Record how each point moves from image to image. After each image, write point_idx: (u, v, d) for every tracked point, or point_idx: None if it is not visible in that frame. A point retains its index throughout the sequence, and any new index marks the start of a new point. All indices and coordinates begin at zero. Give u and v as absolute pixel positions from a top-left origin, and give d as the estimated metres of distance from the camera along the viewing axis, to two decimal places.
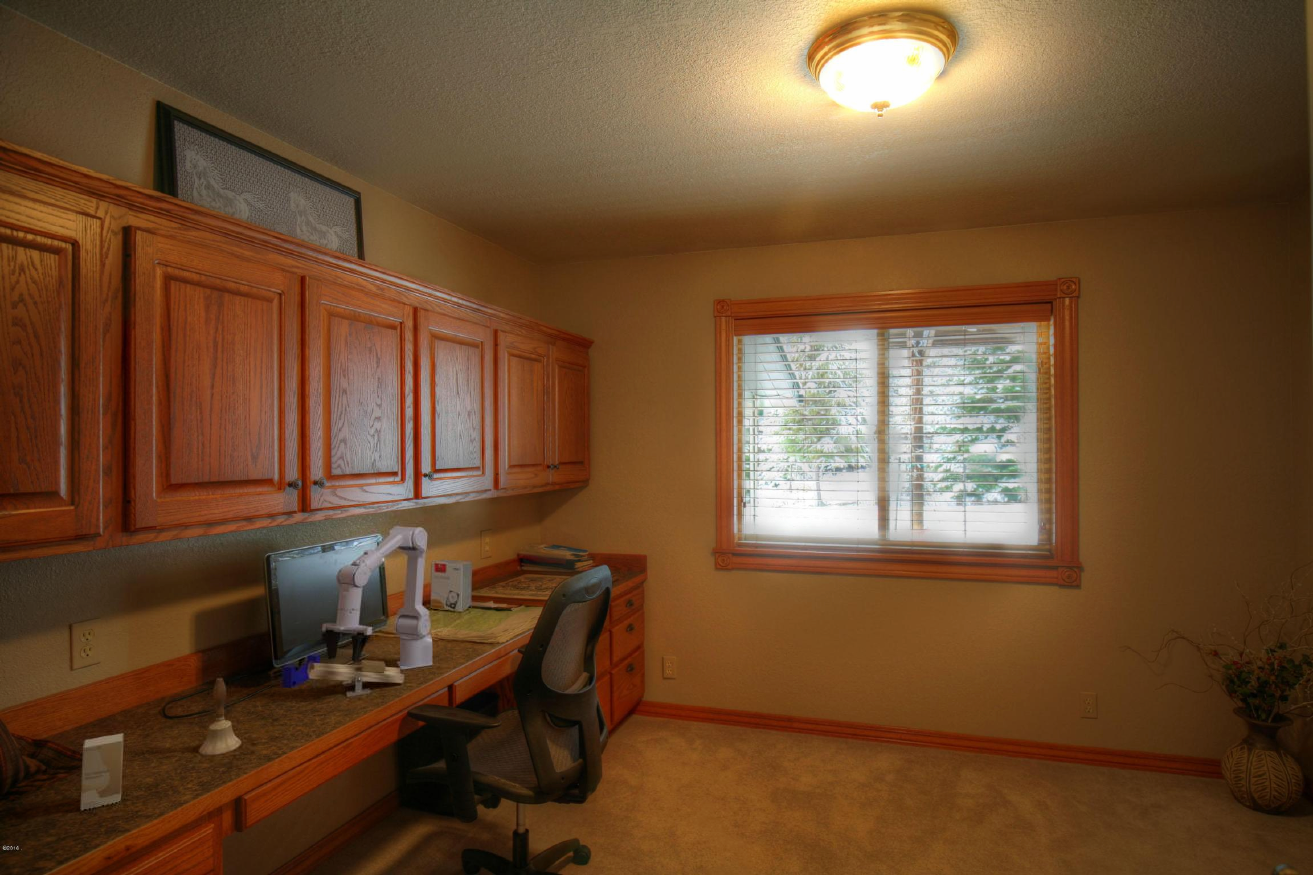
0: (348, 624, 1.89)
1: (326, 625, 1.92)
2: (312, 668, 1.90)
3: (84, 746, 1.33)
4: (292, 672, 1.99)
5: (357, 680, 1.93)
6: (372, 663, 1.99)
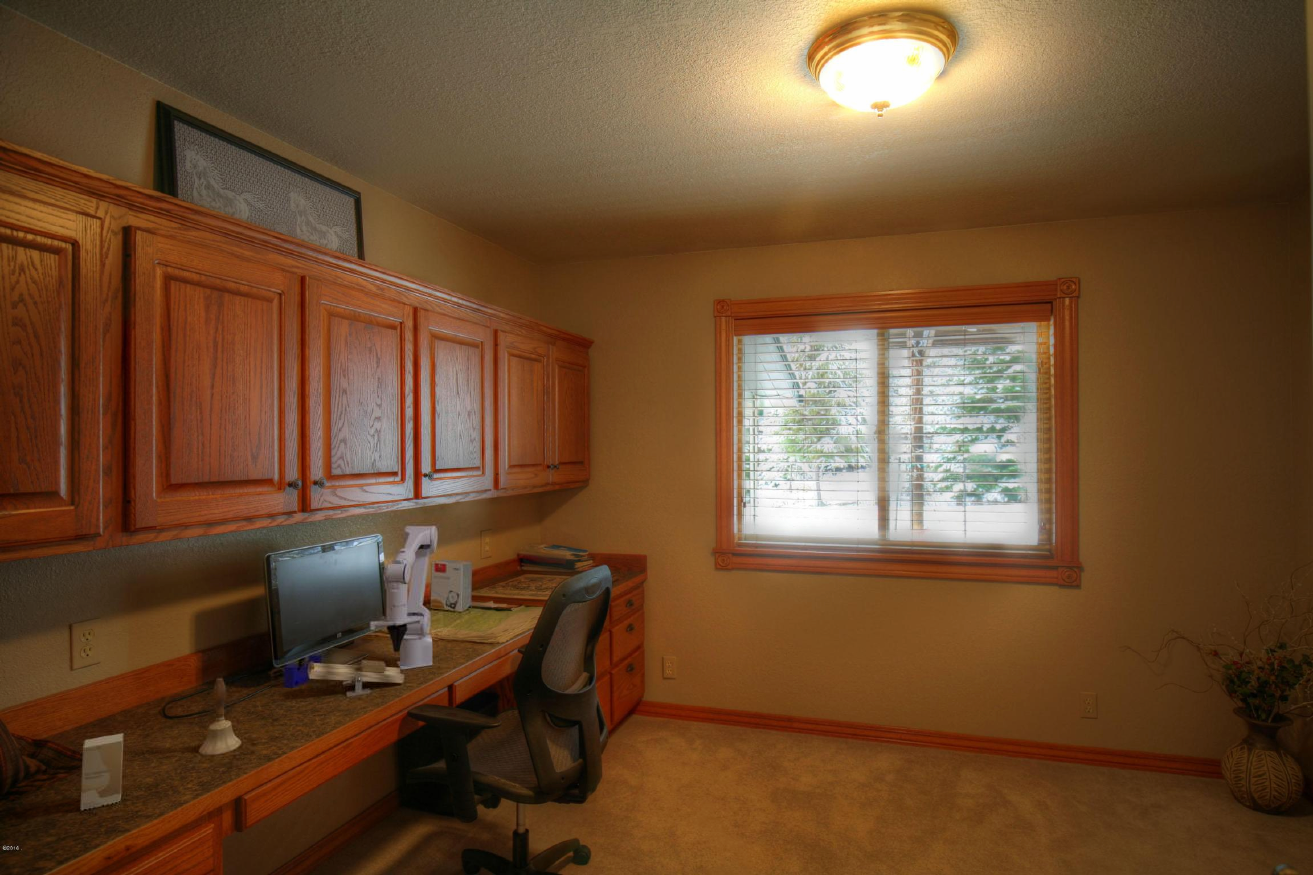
0: (405, 618, 2.02)
1: (376, 624, 1.99)
2: (312, 668, 1.90)
3: (84, 746, 1.33)
4: (294, 672, 1.99)
5: (357, 680, 1.93)
6: (372, 663, 1.99)
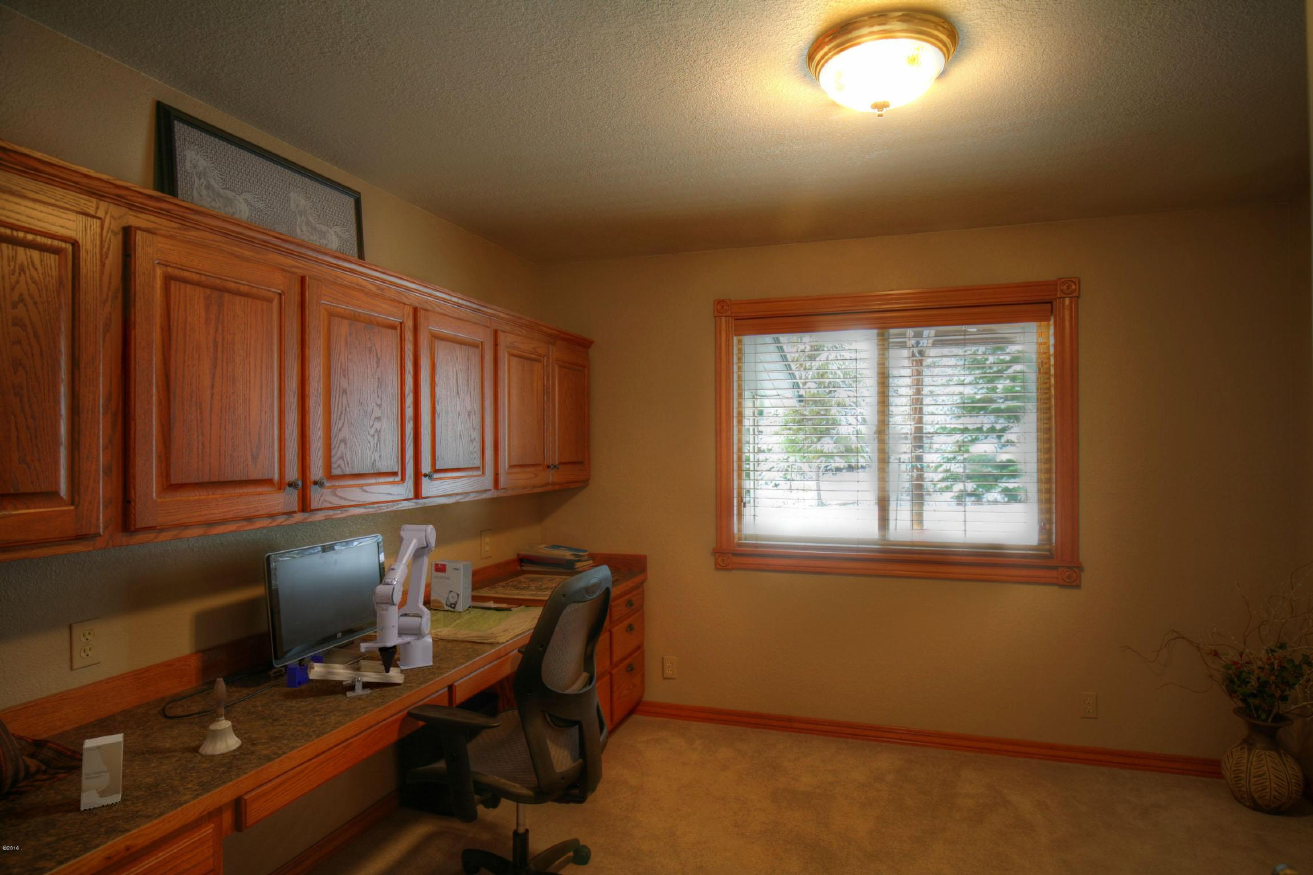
0: (395, 639, 2.01)
1: (366, 645, 1.98)
2: (312, 668, 1.90)
3: (84, 746, 1.33)
4: (297, 672, 1.99)
5: (357, 680, 1.93)
6: (370, 663, 1.99)
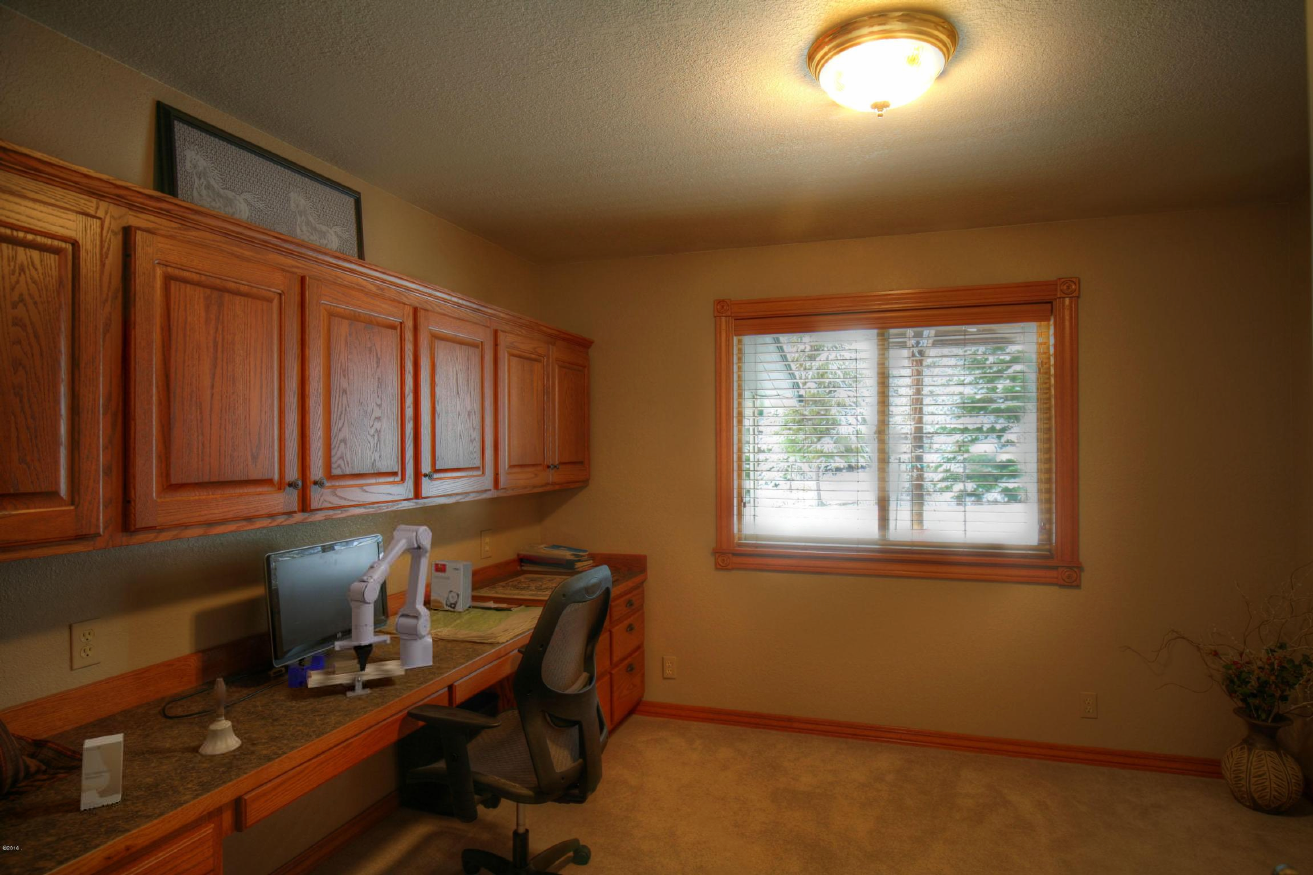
0: (371, 638, 1.98)
1: (341, 644, 1.95)
2: (309, 677, 1.89)
3: (84, 746, 1.33)
4: (299, 672, 1.99)
5: (357, 680, 1.93)
6: (344, 664, 1.96)
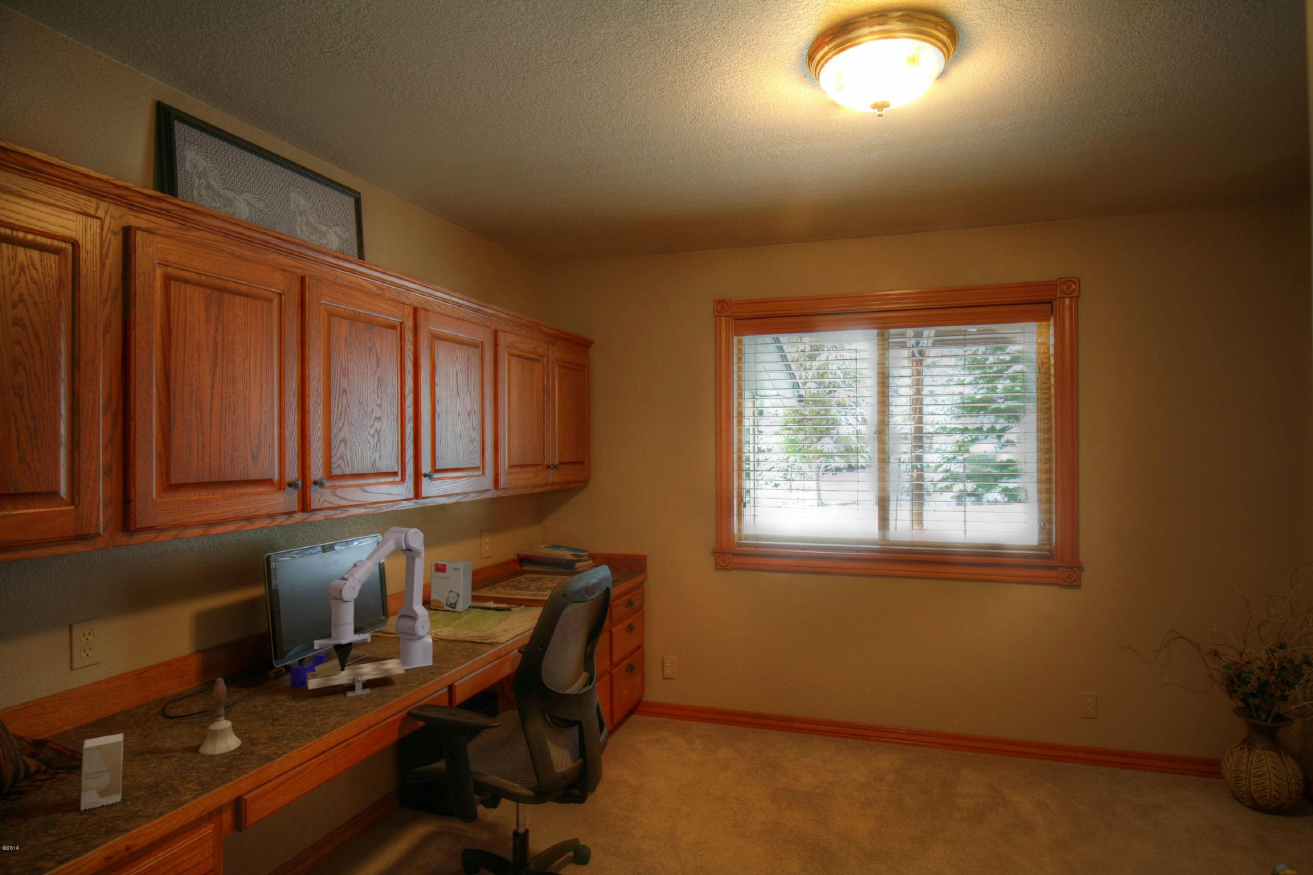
0: (351, 636, 1.95)
1: (320, 643, 1.92)
2: (309, 679, 1.89)
3: (84, 746, 1.33)
4: (301, 672, 1.99)
5: (357, 680, 1.93)
6: (325, 666, 1.93)
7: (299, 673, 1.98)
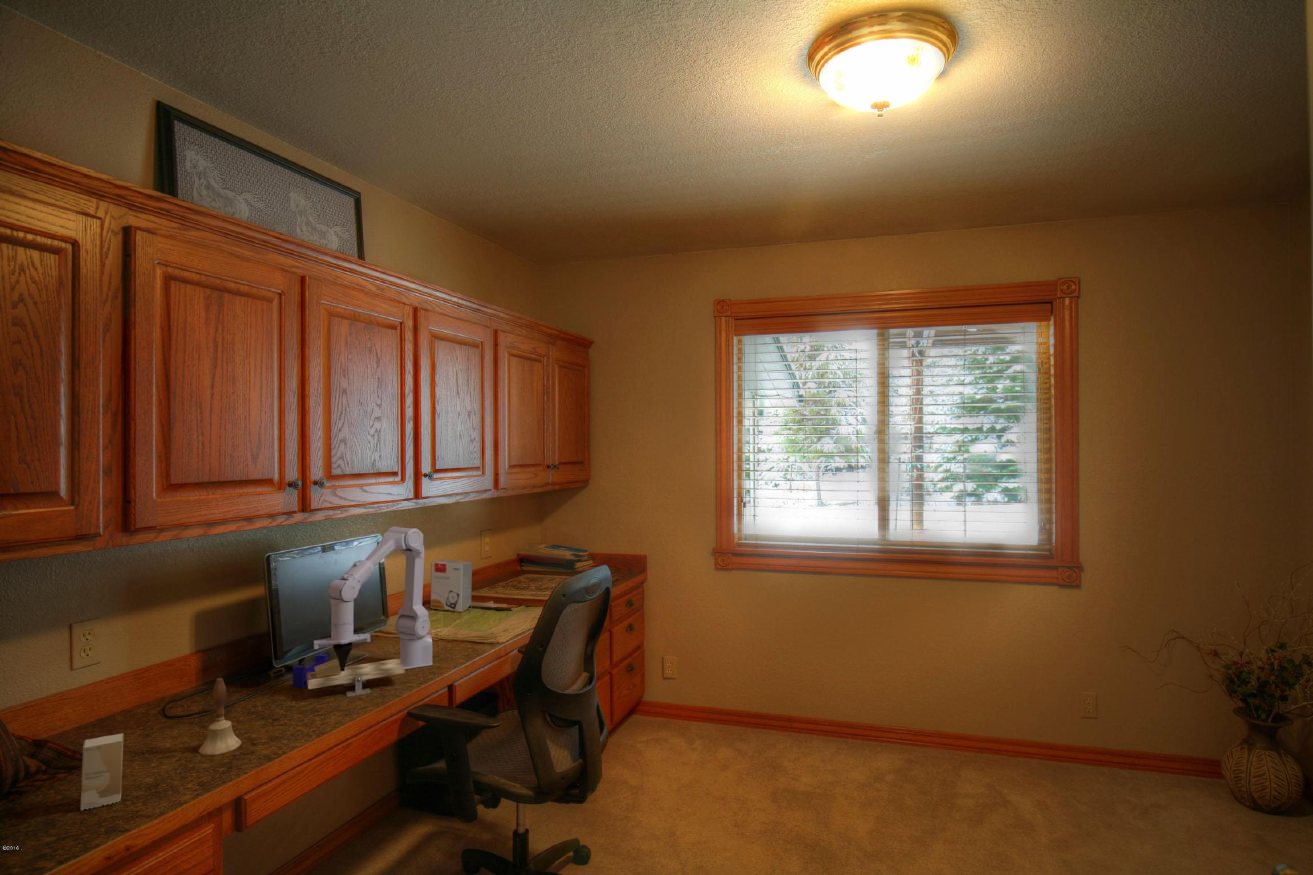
0: (350, 636, 1.95)
1: (320, 643, 1.92)
2: (309, 679, 1.89)
3: (84, 746, 1.33)
4: (303, 672, 1.99)
5: (357, 680, 1.93)
6: (324, 666, 1.93)
7: (301, 673, 1.98)
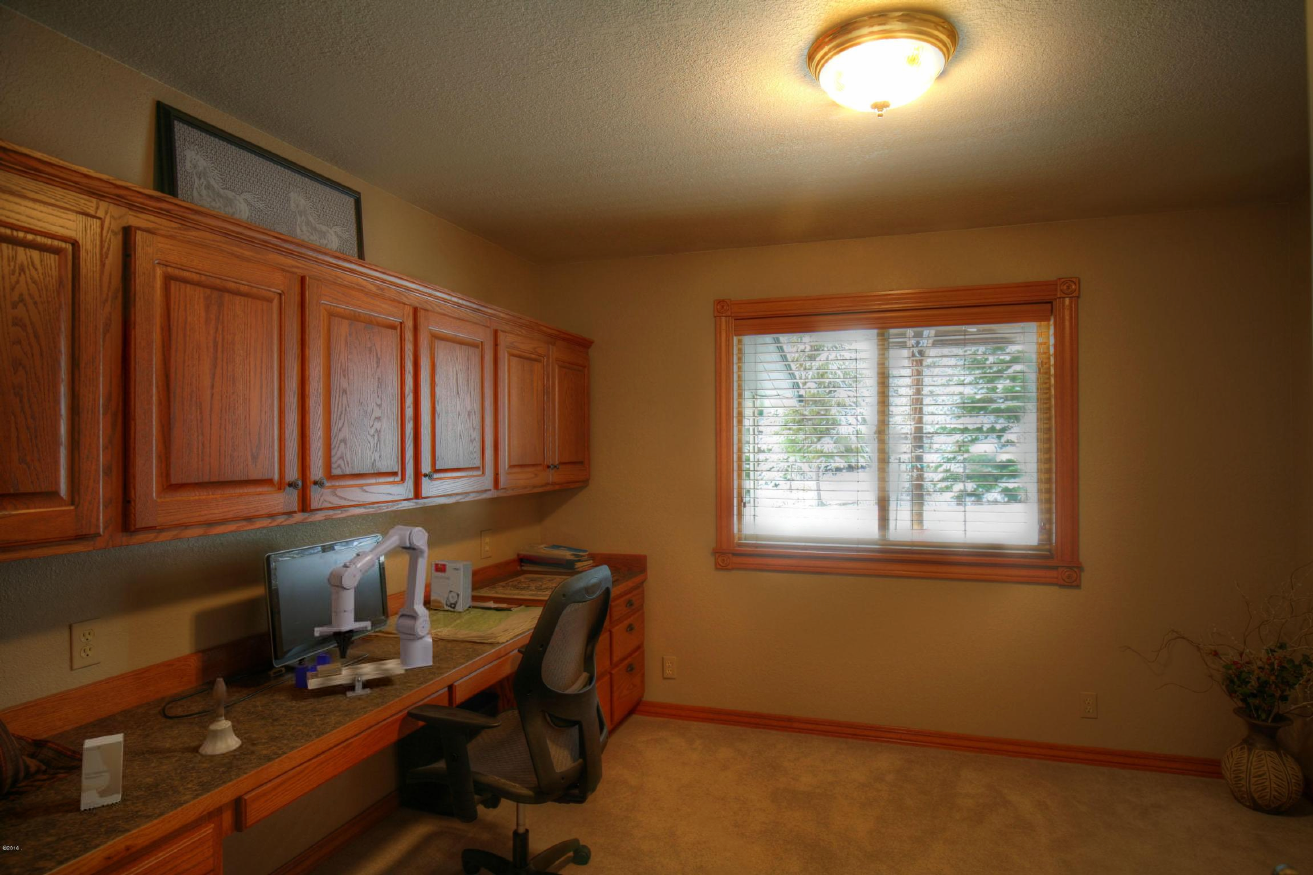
0: (351, 624, 1.96)
1: (320, 630, 1.92)
2: (309, 678, 1.89)
3: (84, 746, 1.33)
4: (306, 672, 1.99)
5: (357, 680, 1.93)
6: (327, 667, 1.93)
7: (304, 673, 1.99)
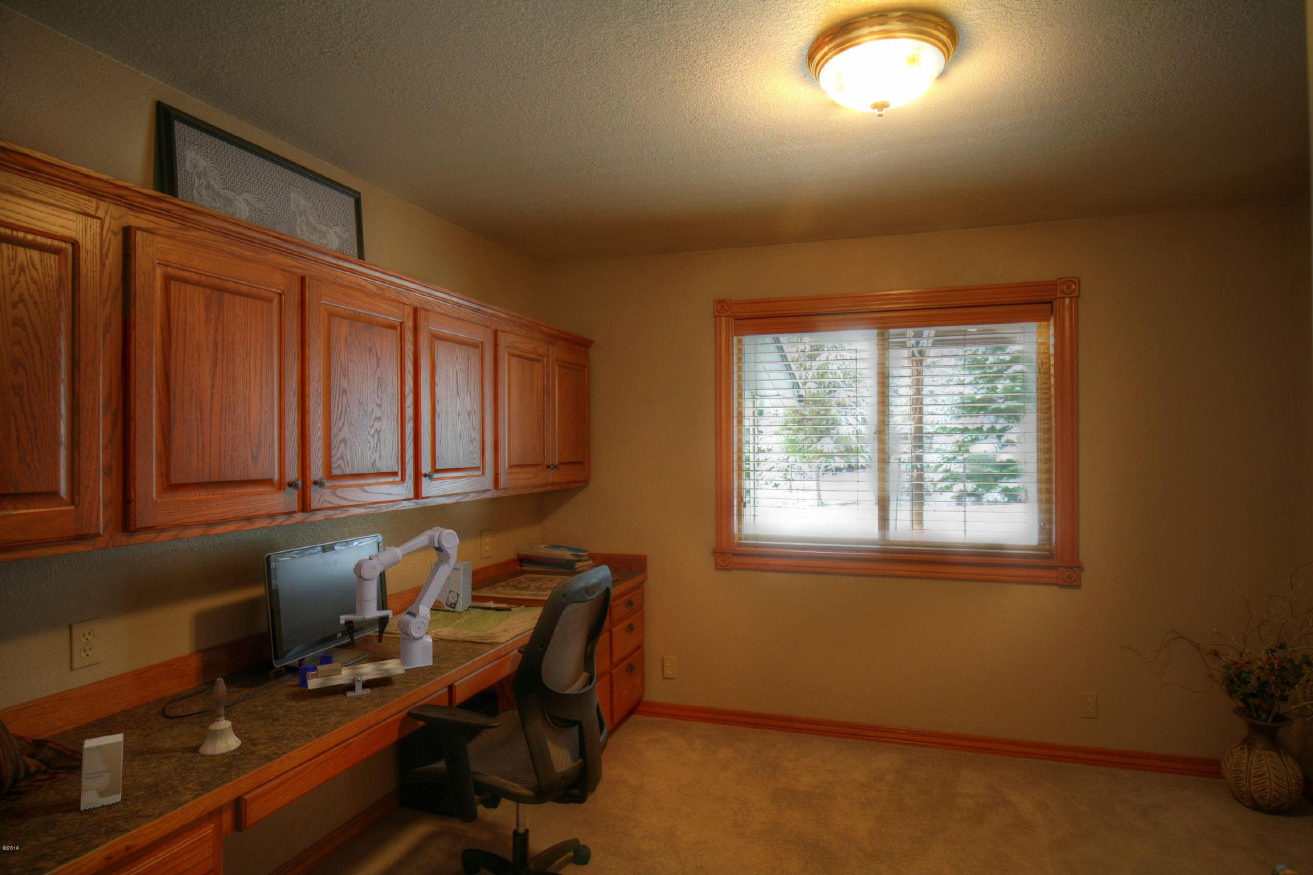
0: (374, 612, 2.09)
1: (345, 617, 2.05)
2: (309, 678, 1.89)
3: (84, 746, 1.33)
4: (310, 672, 1.99)
5: (357, 680, 1.93)
6: (327, 667, 1.93)
7: None
